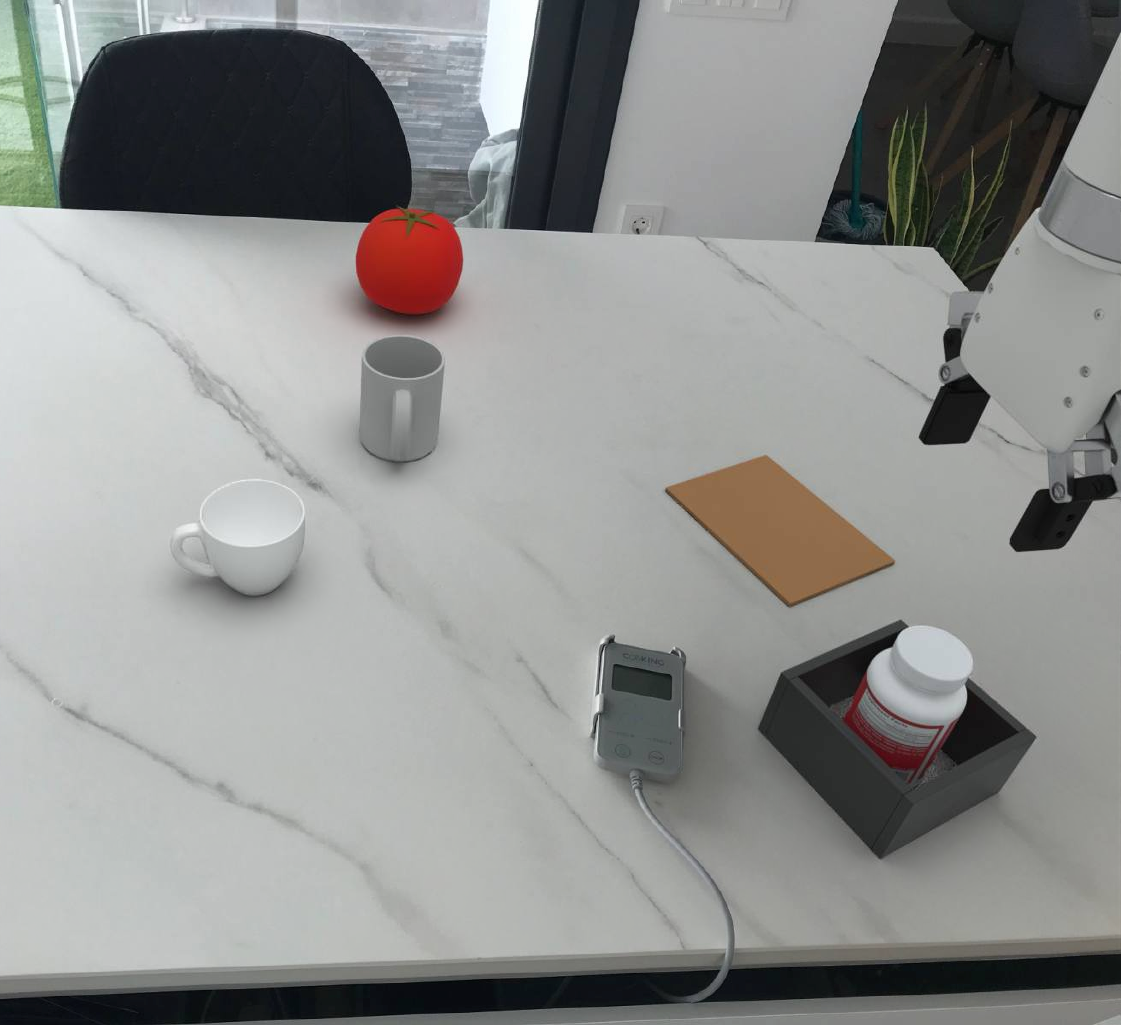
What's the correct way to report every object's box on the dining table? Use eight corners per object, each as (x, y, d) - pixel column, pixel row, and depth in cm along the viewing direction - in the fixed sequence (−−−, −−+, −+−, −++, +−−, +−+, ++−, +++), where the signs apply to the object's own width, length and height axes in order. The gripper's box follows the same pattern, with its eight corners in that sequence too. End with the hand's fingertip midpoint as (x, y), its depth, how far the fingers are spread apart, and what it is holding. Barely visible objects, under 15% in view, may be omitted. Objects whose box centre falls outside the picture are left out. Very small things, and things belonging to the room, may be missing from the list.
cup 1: (313, 605, 82) (312, 539, 78) (178, 622, 80) (170, 555, 75) (297, 539, 88) (296, 473, 83) (171, 553, 85) (164, 486, 81)
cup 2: (436, 418, 102) (443, 337, 96) (439, 485, 95) (447, 400, 89) (360, 415, 102) (363, 332, 96) (356, 481, 94) (359, 396, 88)
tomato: (464, 284, 123) (473, 196, 116) (449, 339, 113) (458, 247, 106) (367, 271, 123) (370, 183, 116) (344, 324, 114) (346, 232, 107)
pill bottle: (884, 715, 78) (941, 608, 71) (941, 783, 74) (1008, 676, 67) (813, 735, 76) (864, 627, 69) (867, 806, 72) (928, 698, 65)
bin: (999, 791, 74) (1037, 736, 70) (880, 859, 69) (913, 804, 65) (872, 674, 81) (900, 618, 77) (757, 728, 76) (780, 671, 72)
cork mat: (894, 564, 91) (895, 560, 91) (789, 607, 86) (790, 603, 86) (765, 457, 101) (766, 454, 101) (664, 490, 96) (665, 487, 96)
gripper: (1335, 304, 46) (1139, 590, 57) (1084, 146, 59) (963, 404, 70) (1185, 308, 45) (1013, 600, 56) (962, 145, 58) (858, 409, 69)
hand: (986, 491), depth 63 cm, fingers open, 9 cm apart
